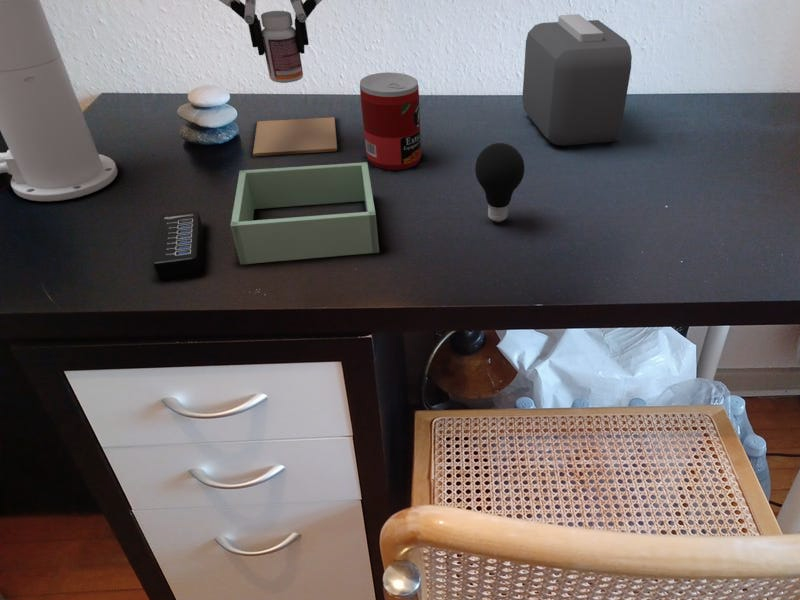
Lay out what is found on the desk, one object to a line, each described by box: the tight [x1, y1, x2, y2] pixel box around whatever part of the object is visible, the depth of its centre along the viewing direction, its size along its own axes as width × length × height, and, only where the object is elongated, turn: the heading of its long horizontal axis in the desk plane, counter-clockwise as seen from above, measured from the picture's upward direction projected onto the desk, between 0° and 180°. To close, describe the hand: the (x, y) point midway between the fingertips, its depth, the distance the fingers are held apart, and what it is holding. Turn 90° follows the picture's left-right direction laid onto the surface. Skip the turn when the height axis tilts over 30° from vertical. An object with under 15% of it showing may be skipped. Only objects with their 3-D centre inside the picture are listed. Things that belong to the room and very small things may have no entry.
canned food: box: [359, 72, 422, 171], centre depth 92 cm, size 8×8×11 cm
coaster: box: [252, 116, 338, 157], centre depth 101 cm, size 12×12×1 cm
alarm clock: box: [521, 13, 633, 146], centre depth 100 cm, size 16×11×16 cm
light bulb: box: [474, 142, 525, 224], centre depth 79 cm, size 6×6×10 cm
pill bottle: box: [260, 10, 304, 84], centre depth 92 cm, size 5×5×8 cm
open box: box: [230, 161, 380, 265], centre depth 79 cm, size 16×14×5 cm
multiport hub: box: [152, 210, 204, 282], centre depth 75 cm, size 4×11×2 cm, turn 16°
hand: (281, 50), depth 92 cm, fingers closed on pill bottle, 4 cm apart
